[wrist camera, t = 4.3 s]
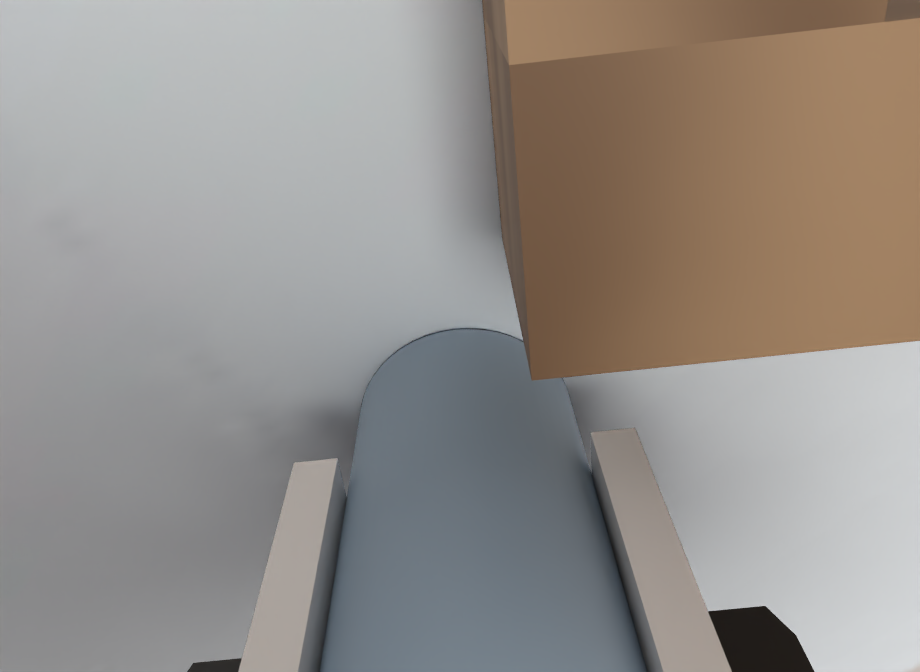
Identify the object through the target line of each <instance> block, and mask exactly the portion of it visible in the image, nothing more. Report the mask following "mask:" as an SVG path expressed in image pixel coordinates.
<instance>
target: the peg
mask: <svg viewBox="0 0 920 672" xmlns="http://www.w3.org/2000/svg"><path fill="white" fill-rule="evenodd" d="M320 672H647V668H646V665H645V661H644V658H643V654H642V651H641V647H640V644H639V640H638V636H637V633H636V629H635V626H634V622H633V619H632V615H631V612H630V608H629V605H628V601H627V598H626V594H625V591H624V587H623V584H622V580H621V577H620V573H619V570H618V566H617V562H616V559H615V555H614V552H613V548H612V545H611V541H610V538H609V534H608V531H607V527H606V524H605V520H604V517H603V513H602V510H601V506H600V503H599V499H598V496H597V492H596V488H595V485H594V481H593V478H592V474H591V471H590V467H589V464H588V460H587V457H586V453H585V450H584V446H583V443H582V439H581V436H580V432H579V428H578V425H577V421H576V418H575V414H574V411H573V407H572V404H571V400H570V397H569V393H568V390H567V387H566V385H565V383H564V381H563V379H562V378H553V379H543V380H534V381H532V380H531V375H530V370H529V365H528V361H527V356H526V351H525V346H524V342H522V341H520V340H518V339H516V338H514V337H511V336H508V335H505V334H501V333H498V332H493V331H487V330H478V329H459V330H450V331H444V332H439V333H435V334H432V335H429V336H425V337H423V338H421V339H418V340H416V341H414V342H412V343H410V344H408V345H407V346H405V347H403V348H401V349H400V350H399V351H397V352H396V353H395V354H393V355H392V356H391V357H390V358H389V359H388V360H387V361H386V362H385V363H384V364H383V365H382V366H381V367H380V368H379V369H378V371H377V372H376V373H375V375H374V376H373V377H372V379H371V381H370V383H369V385H368V387H367V389H366V392H365V394H364V397H363V401H362V406H361V411H360V417H359V424H358V430H357V436H356V443H355V449H354V455H353V462H352V468H351V475H350V481H349V487H348V494H347V500H346V506H345V513H344V519H343V525H342V532H341V538H340V544H339V551H338V557H337V564H336V570H335V576H334V583H333V589H332V595H331V602H330V608H329V614H328V621H327V627H326V633H325V640H324V646H323V652H322V659H321V665H320Z"/></svg>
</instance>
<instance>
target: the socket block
mask: <svg viewBox="0 0 920 672" xmlns="http://www.w3.org/2000/svg"><path fill="white" fill-rule="evenodd" d="M482 5H483V17H484V29H485V41H486V52H487V64H488V76H489V88H490V100H491V112H492V124H493V135H494V147H495V159H496V171H497V183H498V195H499V206H500V218H501V230H502V240H503V245H504V249H505V254H506V259H507V264H508V269H509V274H510V278H511V283H512V288H513V293H514V298H515V303H516V307H517V312H518V317H519V322H520V327H521V332H522V336H523V341H524V346H525V351H526V356H527V361H528V365H529V370H530V375H531V380H532V381H534V380H543V379H553V378H563V377H572V376H582V375H592V374H601V373H611V372H621V371H630V370H640V369H650V368H659V367H669V366H679V365H688V364H698V363H708V362H717V361H727V360H737V359H746V358H756V357H766V356H775V355H785V354H795V353H804V352H814V351H824V350H833V349H843V348H853V347H863V346H872V345H882V344H892V343H901V342H911V341H920V0H482Z"/></svg>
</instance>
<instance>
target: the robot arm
mask: <svg viewBox="0 0 920 672" xmlns="http://www.w3.org/2000/svg"><path fill="white" fill-rule="evenodd" d="M590 434H591V467H592V478H593V481H594V485H595V488H596V492H597V496H598V499H599V503H600V506H601V510H602V513H603V517H604V520H605V524H606V527H607V531H608V534H609V538H610V541H611V545H612V548H613V552H614V555H615V559H616V562H617V566H618V570H619V573H620V577H621V580H622V584H623V587H624V591H625V594H626V598H627V601H628V605H629V608H630V612H631V615H632V619H633V622H634V626H635V629H636V633H637V636H638V640H639V644H640V647H641V651H642V654H643V658H644V661H645V665H646V668H647V672H814V670H813V668H812V666H811V664H810V662H809V660H808V658H807V656H806V654H805V652H804V650H803V648H802V646H801V644H800V642H799V641H798V639H797V637H796V635H795V634H794V633H793V632H792V631H791V630H790V629H789V628H788V627H787V626H786V625H784V624H783V623H782V622H781V621H780V620H779V619H778V618H777V617H776V616H775V615H774V614H773V613H772V612H771V611H770V610H769V609H768V608H767V607H766V606H761V607H750V608H740V609H729V610H719V611H708V610H707V608H706V605H705V603H704V600H703V598H702V595H701V593H700V590H699V588H698V585H697V583H696V580H695V578H694V575H693V573H692V570H691V568H690V565H689V563H688V560H687V558H686V555H685V553H684V550H683V548H682V545H681V542H680V540H679V537H678V535H677V532H676V530H675V527H674V525H673V522H672V520H671V517H670V515H669V512H668V510H667V507H666V505H665V502H664V500H663V497H662V495H661V492H660V490H659V487H658V485H657V482H656V479H655V477H654V474H653V472H652V469H651V467H650V464H649V462H648V459H647V457H646V454H645V452H644V449H643V447H642V444H641V442H640V439H639V437H638V434H637V432H636V429H635V428H627V429H617V430H608V431H598V432H590ZM346 500H347V498H346V493H345V489H344V484H343V480H342V476H341V471H340V467H339V462H338V458H335V459H325V460H315V461H305V462H296V463H294V464H293V468H292V472H291V476H290V479H289V483H288V487H287V491H286V494H285V498H284V502H283V506H282V509H281V513H280V517H279V521H278V525H277V528H276V532H275V536H274V540H273V543H272V547H271V551H270V555H269V558H268V562H267V566H266V570H265V573H264V577H263V581H262V585H261V588H260V592H259V596H258V600H257V603H256V607H255V611H254V615H253V618H252V622H251V626H250V630H249V634H248V637H247V641H246V645H245V649H244V652H243V656H242V658H241V659H231V660H220V661H210V662H199V663H193V664H192V666H191V667H190V668H189V670H188V671H187V672H320V665H321V659H322V652H323V646H324V640H325V633H326V627H327V621H328V614H329V608H330V602H331V595H332V589H333V583H334V576H335V570H336V564H337V557H338V551H339V544H340V538H341V532H342V525H343V519H344V513H345V506H346Z"/></svg>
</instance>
